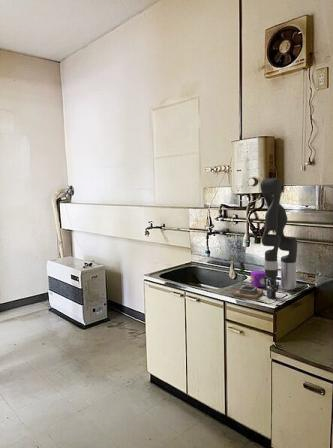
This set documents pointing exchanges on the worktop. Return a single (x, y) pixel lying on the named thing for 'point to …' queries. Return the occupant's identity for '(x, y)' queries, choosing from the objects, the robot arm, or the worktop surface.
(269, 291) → the lens
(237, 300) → the worktop surface
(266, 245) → the robot arm
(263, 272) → the toy camera
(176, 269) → the worktop surface
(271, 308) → the worktop surface
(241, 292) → the lens mount
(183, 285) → the worktop surface
